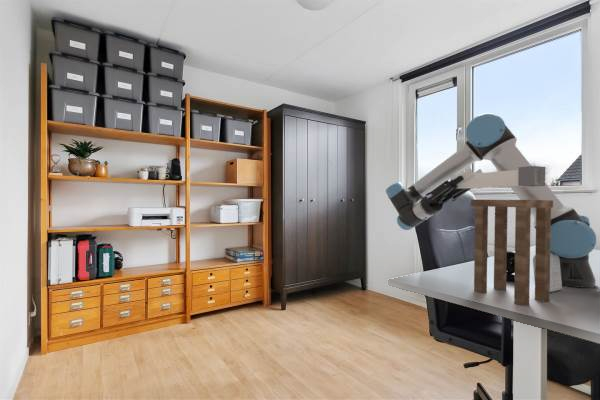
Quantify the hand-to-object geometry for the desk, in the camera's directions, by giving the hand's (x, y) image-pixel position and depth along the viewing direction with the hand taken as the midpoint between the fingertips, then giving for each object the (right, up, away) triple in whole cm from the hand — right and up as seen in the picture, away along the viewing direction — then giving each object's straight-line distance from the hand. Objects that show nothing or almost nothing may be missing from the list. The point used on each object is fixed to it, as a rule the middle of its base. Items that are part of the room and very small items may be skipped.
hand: (476, 172), depth 101 cm
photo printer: (+21, -38, -4) cm, 43 cm away
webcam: (+16, -37, +9) cm, 42 cm away
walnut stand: (+4, -37, -10) cm, 38 cm away
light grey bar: (+2, -5, -5) cm, 7 cm away
